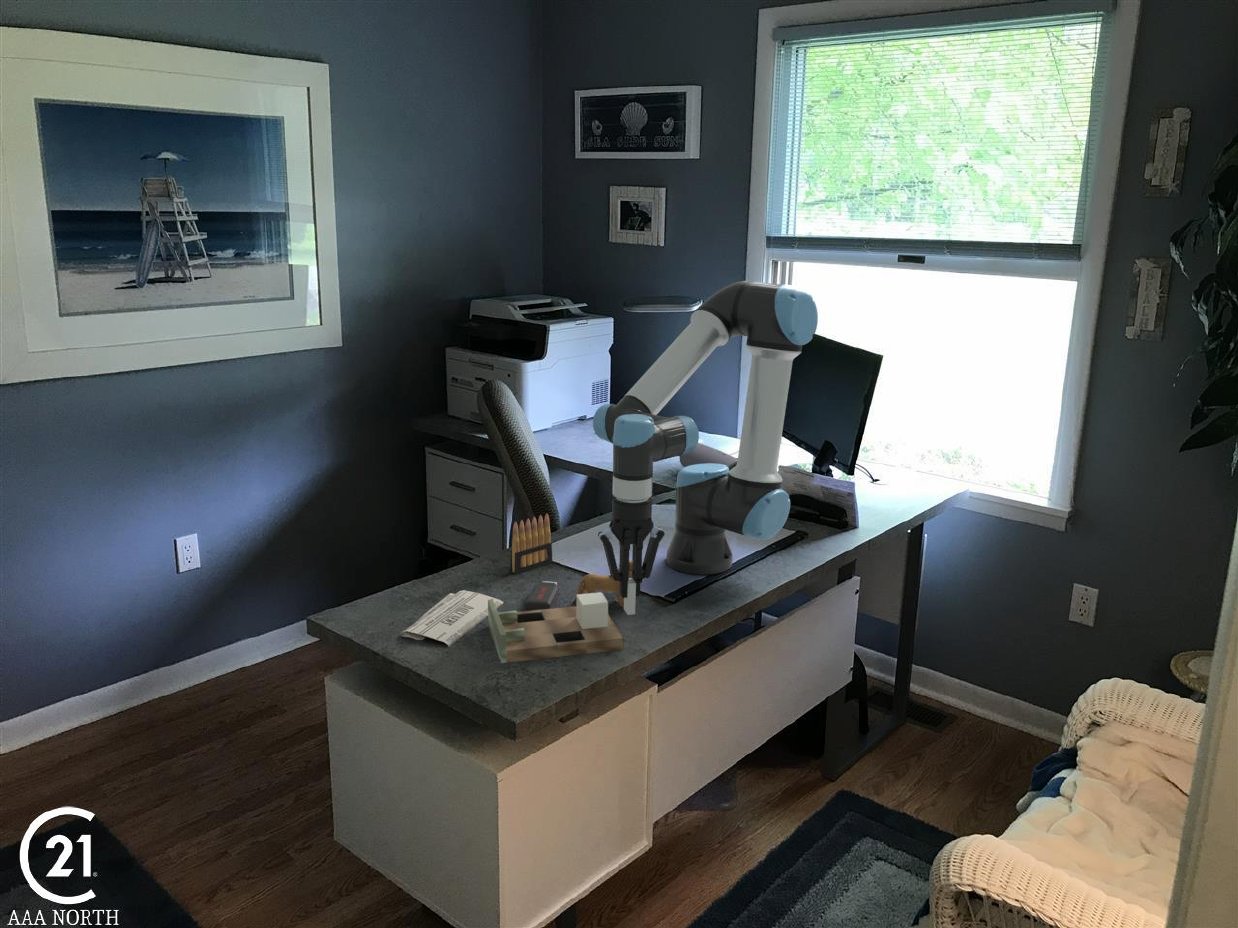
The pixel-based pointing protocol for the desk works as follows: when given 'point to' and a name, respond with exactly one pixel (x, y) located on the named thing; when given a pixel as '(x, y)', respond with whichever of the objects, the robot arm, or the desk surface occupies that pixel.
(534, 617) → the trap deck
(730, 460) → the grey long tapered piece
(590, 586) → the lion figurine
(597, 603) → the cream block
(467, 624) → the newspaper
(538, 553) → the ammunition clip
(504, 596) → the desk surface
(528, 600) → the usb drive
